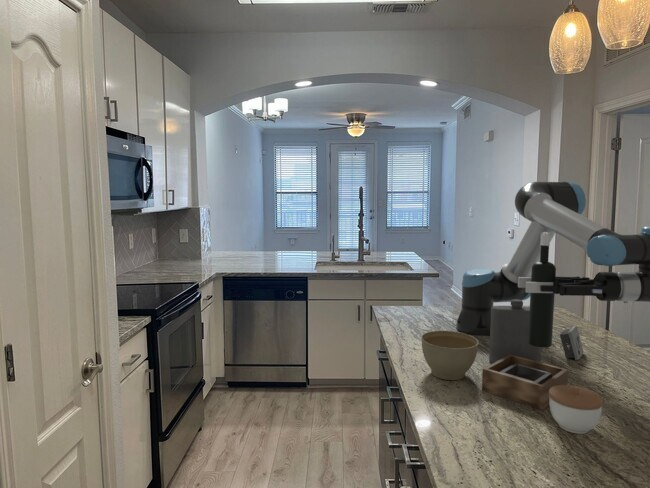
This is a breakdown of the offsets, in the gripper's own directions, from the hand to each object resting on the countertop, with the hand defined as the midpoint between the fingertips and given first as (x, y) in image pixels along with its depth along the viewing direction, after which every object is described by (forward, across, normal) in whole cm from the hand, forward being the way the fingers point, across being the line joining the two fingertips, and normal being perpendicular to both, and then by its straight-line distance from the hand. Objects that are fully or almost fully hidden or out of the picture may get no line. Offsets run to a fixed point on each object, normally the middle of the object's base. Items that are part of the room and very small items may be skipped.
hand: (522, 284), depth 121 cm
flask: (-5, +20, -29) cm, 36 cm away
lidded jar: (-6, -20, -29) cm, 36 cm away
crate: (-1, -1, -29) cm, 29 cm away
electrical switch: (-26, +28, -29) cm, 48 cm away
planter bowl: (+17, +8, -29) cm, 35 cm away
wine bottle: (-5, 0, -16) cm, 17 cm away
